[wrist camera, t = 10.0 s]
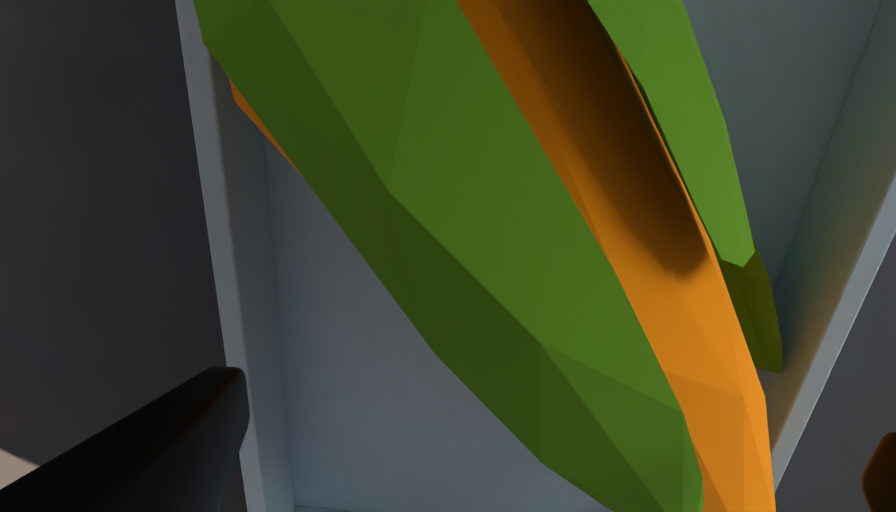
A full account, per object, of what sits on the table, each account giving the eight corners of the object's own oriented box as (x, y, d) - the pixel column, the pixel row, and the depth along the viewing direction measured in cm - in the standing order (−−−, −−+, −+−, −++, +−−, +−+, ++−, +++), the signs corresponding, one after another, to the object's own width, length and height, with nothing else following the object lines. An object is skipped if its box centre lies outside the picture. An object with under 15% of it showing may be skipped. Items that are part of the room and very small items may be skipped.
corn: (359, -934, 3) (1050, 688, 10) (472, -358, 10) (845, 394, 17) (-148, -110, 6) (655, 742, 13) (202, -81, 13) (614, 471, 19)
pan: (1088, -501, 9) (1328, -693, 7) (684, 545, 21) (712, 629, 18) (185, -536, 10) (69, -727, 7) (285, 502, 22) (255, 577, 19)
